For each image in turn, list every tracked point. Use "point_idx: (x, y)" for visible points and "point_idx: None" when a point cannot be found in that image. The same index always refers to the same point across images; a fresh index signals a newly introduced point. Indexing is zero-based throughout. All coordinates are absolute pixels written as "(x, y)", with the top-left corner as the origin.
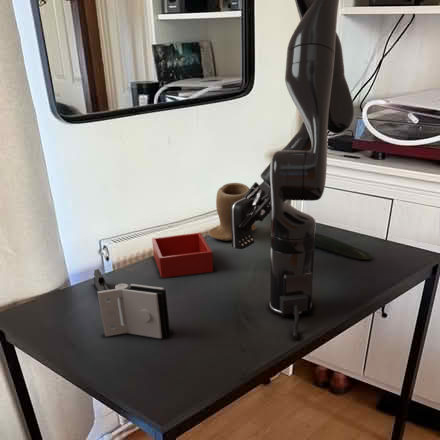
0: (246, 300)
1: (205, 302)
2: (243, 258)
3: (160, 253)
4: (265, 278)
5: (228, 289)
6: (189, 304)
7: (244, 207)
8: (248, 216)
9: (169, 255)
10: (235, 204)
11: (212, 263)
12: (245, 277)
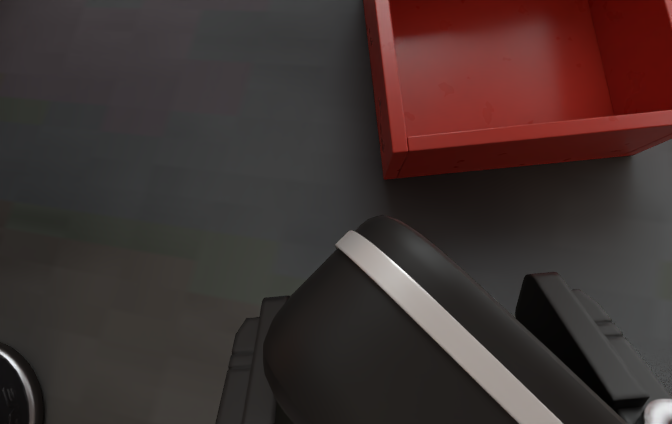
0: (84, 266)
1: (114, 123)
2: None
3: None
4: None
5: (196, 215)
6: (116, 72)
7: (281, 404)
8: (243, 410)
9: (584, 20)
10: (369, 278)
11: (386, 168)
12: None
